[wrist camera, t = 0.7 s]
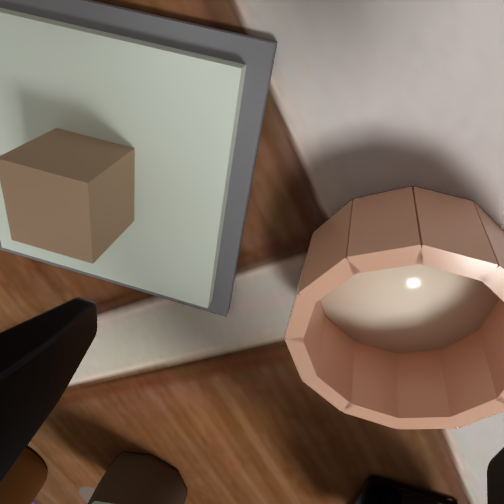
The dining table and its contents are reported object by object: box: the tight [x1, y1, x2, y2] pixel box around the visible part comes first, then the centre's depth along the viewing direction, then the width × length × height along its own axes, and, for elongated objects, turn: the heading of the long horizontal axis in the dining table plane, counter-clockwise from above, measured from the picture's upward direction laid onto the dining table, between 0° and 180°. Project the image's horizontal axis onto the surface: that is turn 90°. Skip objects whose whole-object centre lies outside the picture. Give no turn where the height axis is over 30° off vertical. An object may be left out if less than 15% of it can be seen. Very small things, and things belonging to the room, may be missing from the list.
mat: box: [0, 0, 277, 317], centre depth 22 cm, size 15×15×1 cm
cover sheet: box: [0, 8, 246, 308], centre depth 20 cm, size 13×13×5 cm
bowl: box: [285, 186, 504, 429], centre depth 20 cm, size 10×10×5 cm
